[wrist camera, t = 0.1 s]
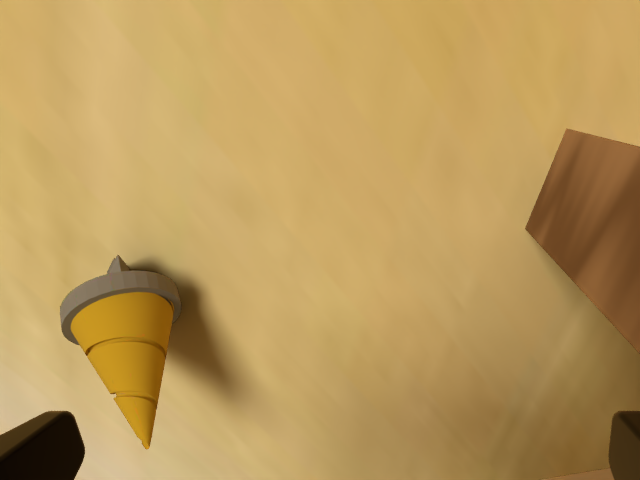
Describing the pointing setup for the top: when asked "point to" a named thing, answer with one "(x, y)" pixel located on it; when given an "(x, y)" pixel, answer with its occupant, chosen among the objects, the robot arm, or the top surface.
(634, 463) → the robot arm
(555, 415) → the top surface
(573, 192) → the tall block
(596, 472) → the short block
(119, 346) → the grey yellow round piece
